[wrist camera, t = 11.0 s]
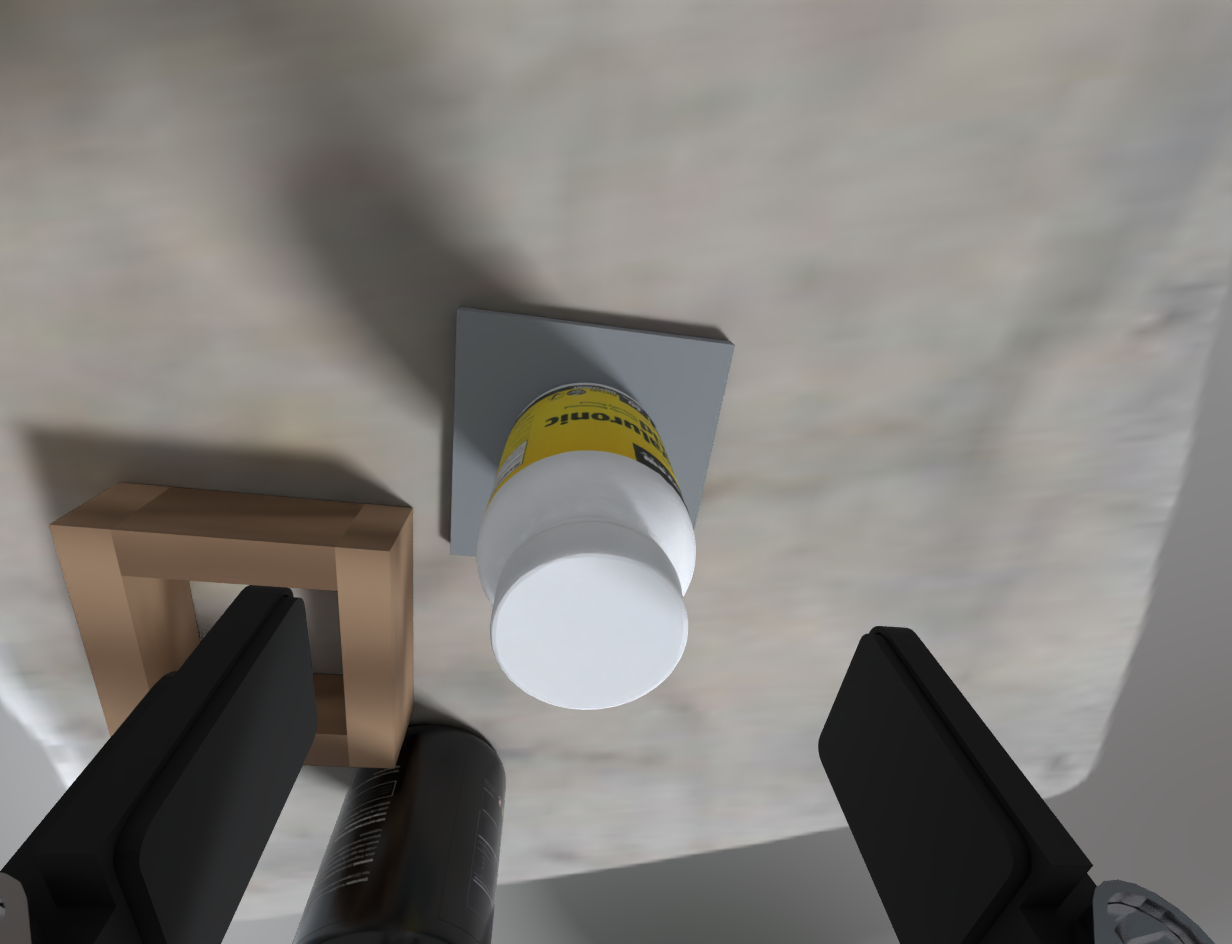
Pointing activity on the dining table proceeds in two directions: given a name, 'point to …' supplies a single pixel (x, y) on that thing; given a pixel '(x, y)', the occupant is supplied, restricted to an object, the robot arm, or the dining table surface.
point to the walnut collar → (253, 555)
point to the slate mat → (563, 354)
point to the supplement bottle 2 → (586, 551)
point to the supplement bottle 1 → (414, 848)
